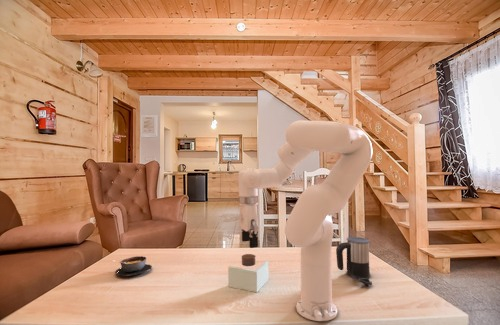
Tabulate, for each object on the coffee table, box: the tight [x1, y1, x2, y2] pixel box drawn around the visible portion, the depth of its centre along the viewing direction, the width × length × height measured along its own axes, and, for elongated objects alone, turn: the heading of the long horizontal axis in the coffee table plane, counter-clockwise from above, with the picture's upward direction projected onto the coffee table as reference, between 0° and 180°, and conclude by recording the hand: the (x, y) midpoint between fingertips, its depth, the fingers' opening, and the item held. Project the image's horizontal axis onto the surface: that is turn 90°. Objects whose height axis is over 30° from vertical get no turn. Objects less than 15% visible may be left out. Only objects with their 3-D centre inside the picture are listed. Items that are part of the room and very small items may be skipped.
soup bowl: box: [111, 255, 153, 278], centre depth 117 cm, size 15×16×7 cm
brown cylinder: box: [241, 253, 256, 267], centre depth 105 cm, size 5×5×3 cm
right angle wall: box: [227, 260, 270, 293], centre depth 105 cm, size 12×12×8 cm
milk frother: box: [335, 236, 373, 287], centre depth 108 cm, size 14×16×15 cm
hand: (249, 244), depth 105 cm, fingers open, 9 cm apart
